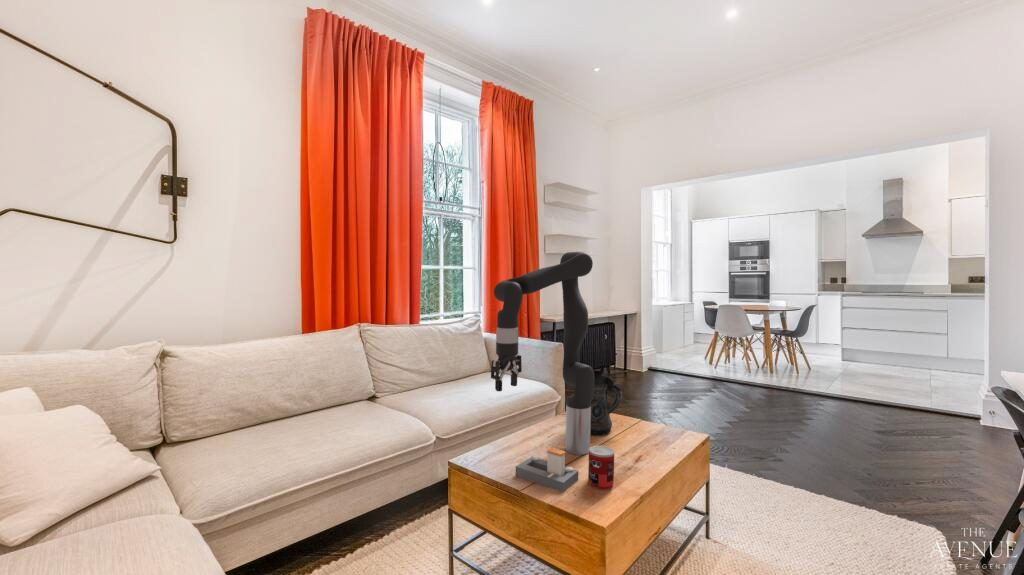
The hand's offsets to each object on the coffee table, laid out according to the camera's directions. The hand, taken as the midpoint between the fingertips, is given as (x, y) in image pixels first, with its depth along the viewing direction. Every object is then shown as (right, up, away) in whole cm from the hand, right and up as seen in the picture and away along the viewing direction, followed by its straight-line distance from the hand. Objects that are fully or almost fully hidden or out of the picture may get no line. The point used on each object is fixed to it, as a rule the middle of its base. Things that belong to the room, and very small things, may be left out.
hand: (506, 388), depth 146 cm
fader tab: (+16, -29, -6) cm, 33 cm away
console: (+13, -29, -4) cm, 32 cm away
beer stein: (+38, -27, +41) cm, 62 cm away
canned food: (+30, -29, -8) cm, 43 cm away
